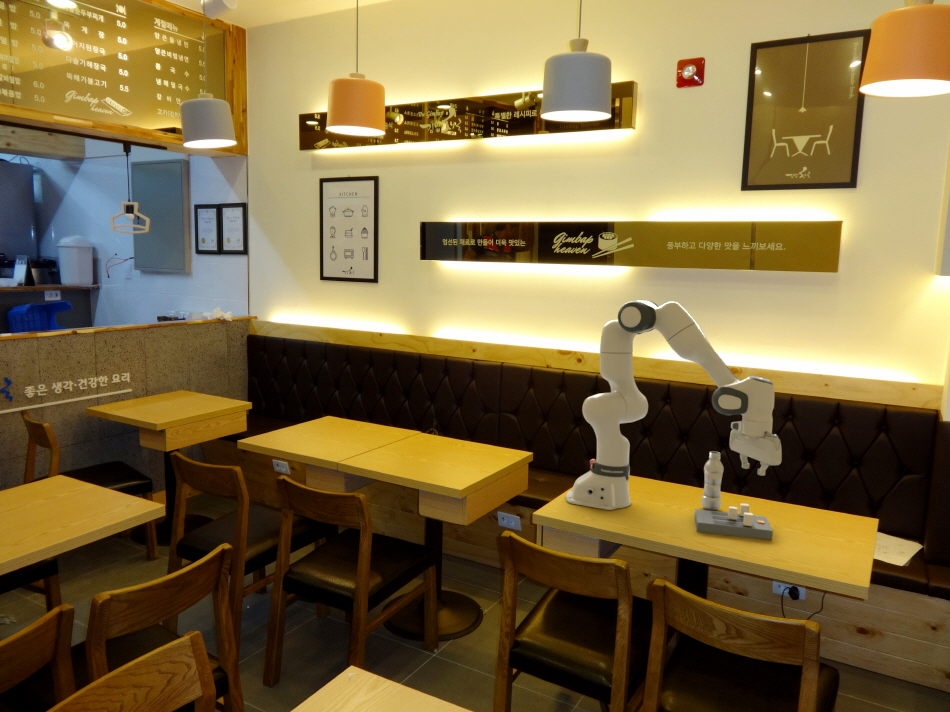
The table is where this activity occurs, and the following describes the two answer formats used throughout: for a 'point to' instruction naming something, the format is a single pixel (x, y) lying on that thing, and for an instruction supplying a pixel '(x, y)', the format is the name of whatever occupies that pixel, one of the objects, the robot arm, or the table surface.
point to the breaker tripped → (732, 513)
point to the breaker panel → (732, 525)
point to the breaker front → (748, 519)
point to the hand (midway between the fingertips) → (753, 471)
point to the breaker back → (744, 509)
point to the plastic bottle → (712, 482)
